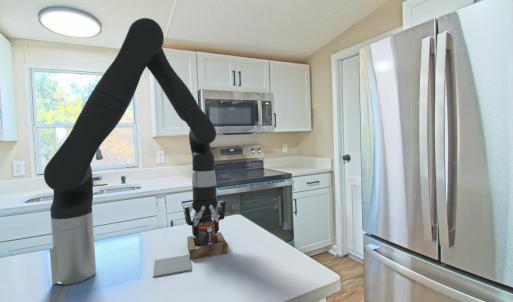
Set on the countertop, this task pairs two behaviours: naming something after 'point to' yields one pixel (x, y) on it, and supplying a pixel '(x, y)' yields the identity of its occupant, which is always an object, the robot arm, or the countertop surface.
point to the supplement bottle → (206, 231)
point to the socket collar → (207, 247)
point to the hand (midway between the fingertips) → (206, 234)
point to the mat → (172, 265)
